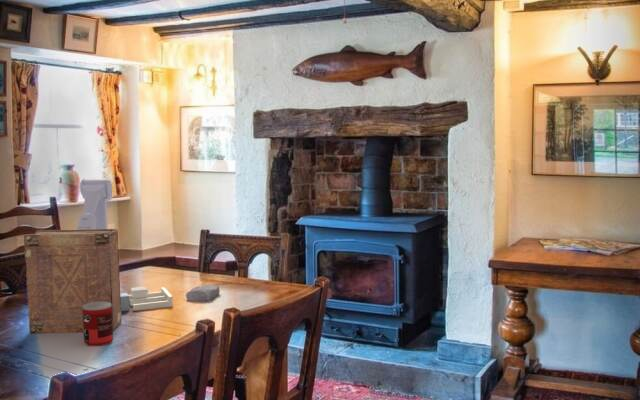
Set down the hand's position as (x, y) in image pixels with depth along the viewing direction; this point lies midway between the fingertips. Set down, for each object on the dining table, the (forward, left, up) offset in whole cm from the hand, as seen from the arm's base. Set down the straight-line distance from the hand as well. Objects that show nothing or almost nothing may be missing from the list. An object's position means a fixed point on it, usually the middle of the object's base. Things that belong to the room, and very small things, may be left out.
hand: (87, 308), depth 221 cm
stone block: (-5, +40, -2) cm, 40 cm away
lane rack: (-4, +20, -2) cm, 21 cm away
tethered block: (0, +6, -2) cm, 6 cm away
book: (+17, -4, -2) cm, 17 cm away
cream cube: (-7, +18, -2) cm, 19 cm away
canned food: (+35, +1, -2) cm, 35 cm away
